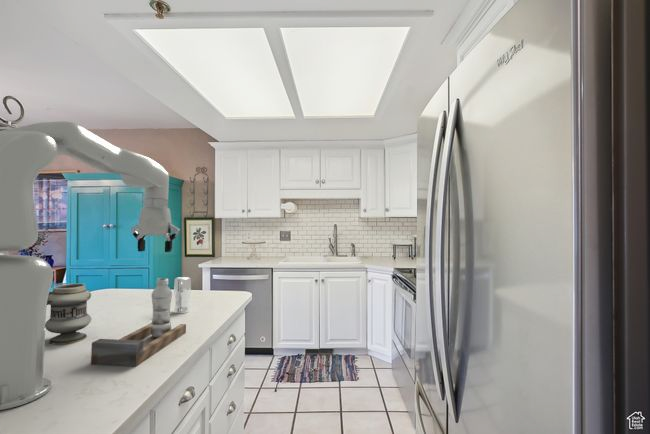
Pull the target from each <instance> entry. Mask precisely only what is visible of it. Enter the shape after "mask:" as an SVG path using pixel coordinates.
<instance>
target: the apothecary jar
mask: <svg viewBox="0 0 650 434" xmlns="http://www.w3.org/2000/svg"><path fill="white" fill-rule="evenodd" d="M91 297H92V293H91V292H90V290H87V288H86V284H85V283H80V282H79V283H66V284H65V283H64V284H60V285H55V286H54V287H53V289H52V292H51V293H49V295H48V300H47V305H49V306H50V316H49V319H48V320H46V324H45V330H47V331H48V332H50V333H54V334H57V335H55V336H53V337H51V338H50V339H49V340H48V343H49V344H50V345H52V344H53V345H57V346H58V345H68V344H73V343H77V342H80V341H83V340H84V339H86V338H87V333H83V332H80V330H82V329H84V328H86V327H87V326H89V324H90V323H91V322H92V317H91V315H90V314H89V313H88V312H87V311H88V309H87V308H88V307H87V303H88V302H87V301H89V300H90V299H91Z"/></svg>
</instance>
